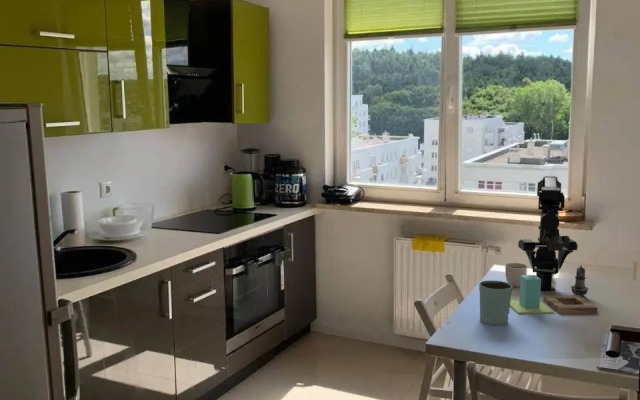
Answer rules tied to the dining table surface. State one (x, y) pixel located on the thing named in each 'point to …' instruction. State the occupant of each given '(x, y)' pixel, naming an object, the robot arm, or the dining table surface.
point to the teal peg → (530, 291)
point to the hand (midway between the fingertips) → (546, 268)
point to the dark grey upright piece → (580, 283)
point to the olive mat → (521, 310)
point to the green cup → (494, 302)
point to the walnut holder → (580, 306)
